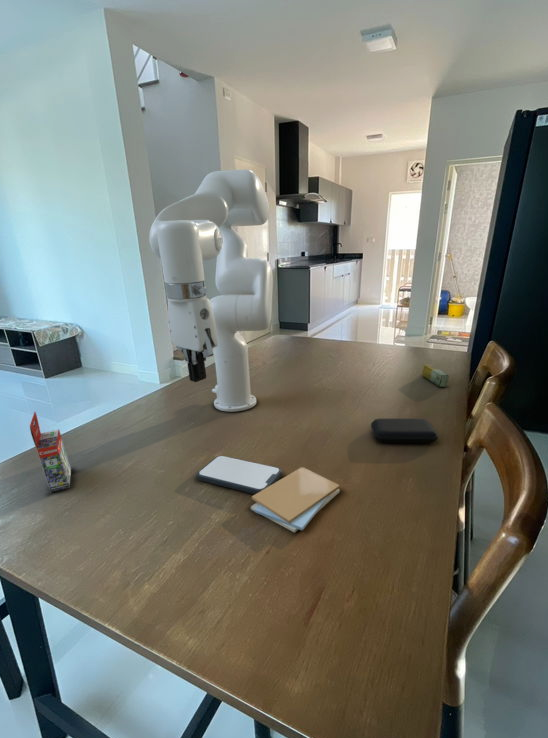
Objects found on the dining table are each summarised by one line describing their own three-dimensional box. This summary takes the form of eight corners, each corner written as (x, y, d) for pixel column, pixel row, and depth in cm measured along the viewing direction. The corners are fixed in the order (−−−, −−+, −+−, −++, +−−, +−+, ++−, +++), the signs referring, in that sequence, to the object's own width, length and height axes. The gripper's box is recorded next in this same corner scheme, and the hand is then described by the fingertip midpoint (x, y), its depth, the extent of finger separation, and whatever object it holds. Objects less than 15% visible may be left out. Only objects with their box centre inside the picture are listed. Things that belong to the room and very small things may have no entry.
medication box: (447, 387, 123) (450, 375, 121) (439, 387, 122) (442, 375, 121) (427, 374, 134) (430, 363, 132) (420, 374, 133) (423, 363, 131)
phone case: (194, 481, 78) (263, 499, 71) (193, 474, 77) (263, 491, 71) (219, 460, 85) (284, 474, 79) (219, 454, 85) (283, 467, 78)
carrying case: (427, 425, 98) (368, 425, 99) (428, 414, 97) (369, 414, 98) (439, 445, 88) (375, 445, 89) (441, 434, 87) (375, 433, 88)
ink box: (71, 469, 83) (54, 407, 77) (70, 488, 76) (51, 422, 71) (52, 473, 82) (33, 411, 76) (49, 493, 75) (28, 426, 69)
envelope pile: (245, 509, 69) (244, 501, 68) (296, 471, 79) (296, 464, 79) (297, 538, 62) (297, 529, 61) (346, 492, 72) (346, 484, 72)
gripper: (226, 291, 72) (235, 381, 80) (178, 286, 81) (190, 368, 88) (195, 297, 67) (207, 393, 75) (147, 291, 76) (162, 377, 83)
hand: (198, 379), depth 81 cm, fingers closed
